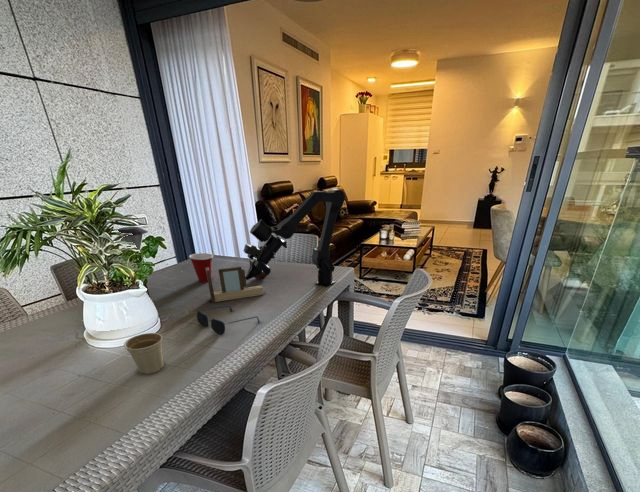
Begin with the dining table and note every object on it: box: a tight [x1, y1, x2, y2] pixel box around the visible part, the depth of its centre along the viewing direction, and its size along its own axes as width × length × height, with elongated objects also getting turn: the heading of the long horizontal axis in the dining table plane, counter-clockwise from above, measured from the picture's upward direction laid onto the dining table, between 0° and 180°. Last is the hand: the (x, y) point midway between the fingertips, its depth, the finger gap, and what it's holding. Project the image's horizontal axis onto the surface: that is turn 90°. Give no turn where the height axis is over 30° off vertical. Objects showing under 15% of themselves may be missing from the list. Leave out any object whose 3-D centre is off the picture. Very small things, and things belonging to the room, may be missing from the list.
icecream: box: [254, 273, 268, 281], centre depth 166 cm, size 7×7×15 cm
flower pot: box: [123, 332, 164, 375], centre depth 95 cm, size 9×9×9 cm
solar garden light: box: [117, 226, 151, 298], centre depth 132 cm, size 12×12×30 cm
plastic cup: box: [188, 252, 214, 283], centre depth 166 cm, size 11×11×12 cm
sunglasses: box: [196, 304, 260, 336], centre depth 122 cm, size 17×15×5 cm
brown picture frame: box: [217, 266, 248, 293], centre depth 143 cm, size 10×2×11 cm, turn 111°
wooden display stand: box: [205, 267, 265, 303], centre depth 144 cm, size 21×5×13 cm, turn 111°
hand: (246, 279), depth 145 cm, fingers closed, pressing on brown picture frame
